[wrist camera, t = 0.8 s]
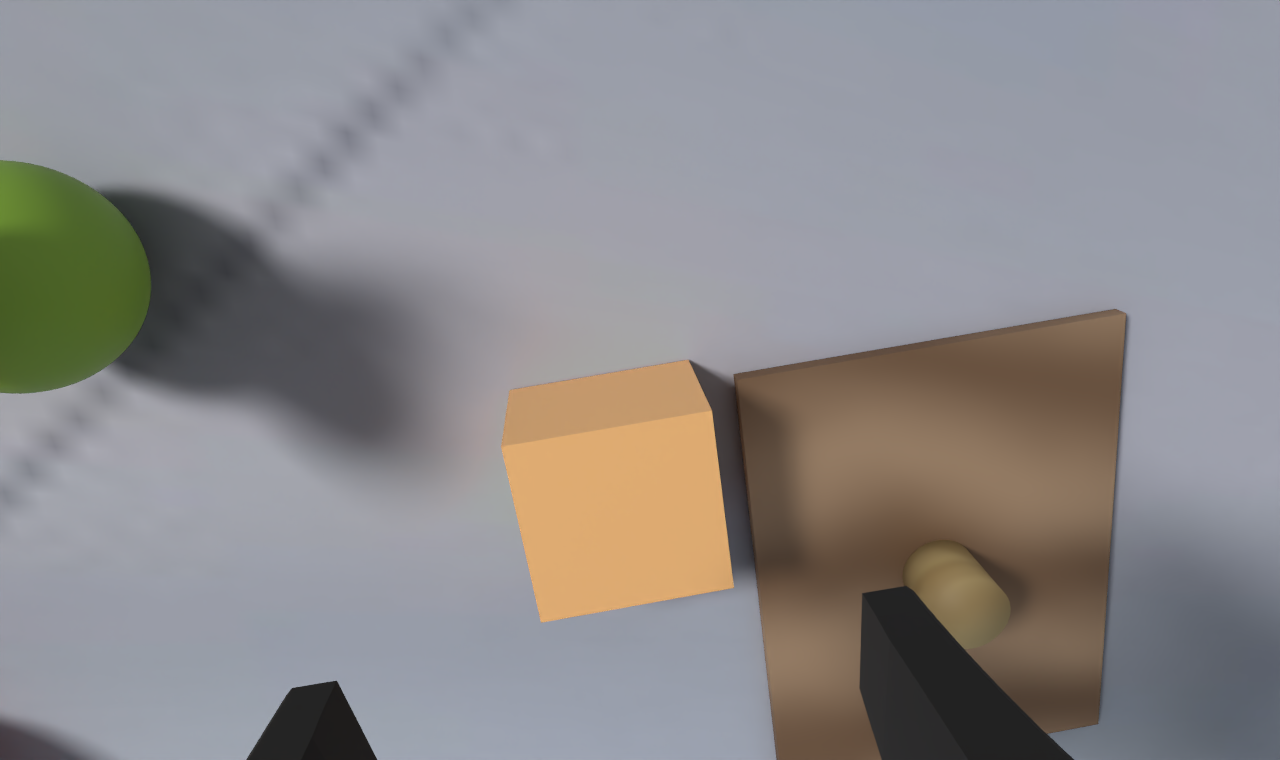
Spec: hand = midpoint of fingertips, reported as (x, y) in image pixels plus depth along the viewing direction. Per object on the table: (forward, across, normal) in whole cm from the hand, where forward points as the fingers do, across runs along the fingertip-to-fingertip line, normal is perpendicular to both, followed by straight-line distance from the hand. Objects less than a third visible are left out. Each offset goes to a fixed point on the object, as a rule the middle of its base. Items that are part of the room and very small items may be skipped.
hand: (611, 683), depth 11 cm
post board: (+12, -10, +12) cm, 20 cm away
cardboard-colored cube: (+13, 0, +6) cm, 14 cm away
